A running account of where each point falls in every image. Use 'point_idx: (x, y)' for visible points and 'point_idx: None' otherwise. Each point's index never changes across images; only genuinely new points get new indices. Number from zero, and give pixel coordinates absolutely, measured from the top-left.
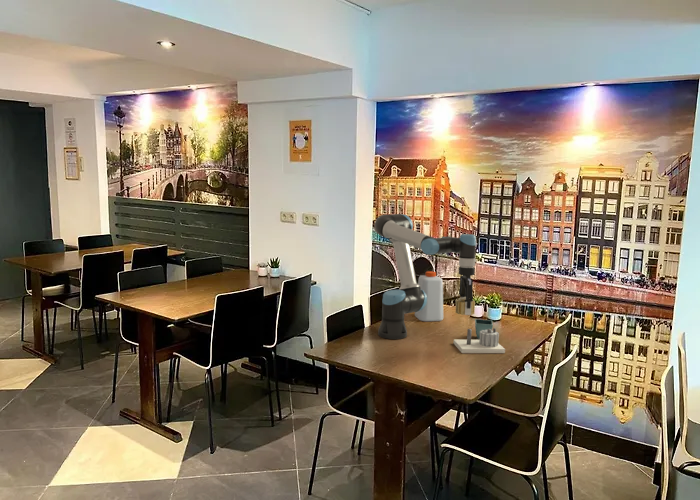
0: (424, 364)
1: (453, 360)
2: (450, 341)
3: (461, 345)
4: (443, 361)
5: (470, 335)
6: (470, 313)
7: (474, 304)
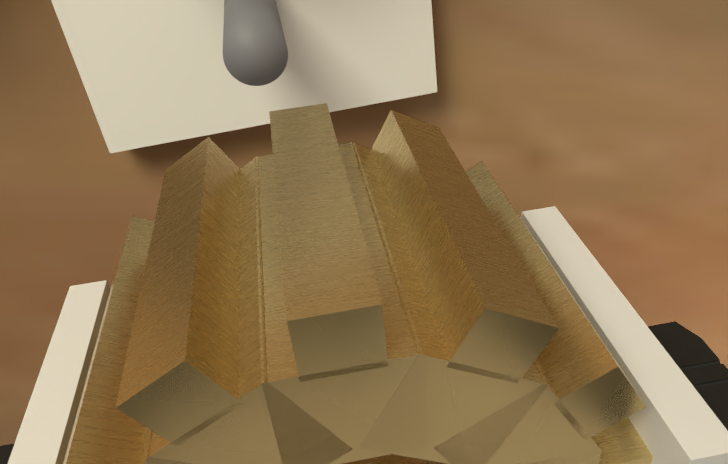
0: None
1: (610, 161)
2: (54, 159)
3: (318, 87)
4: (623, 230)
5: (277, 15)
6: (568, 232)
7: (498, 260)
